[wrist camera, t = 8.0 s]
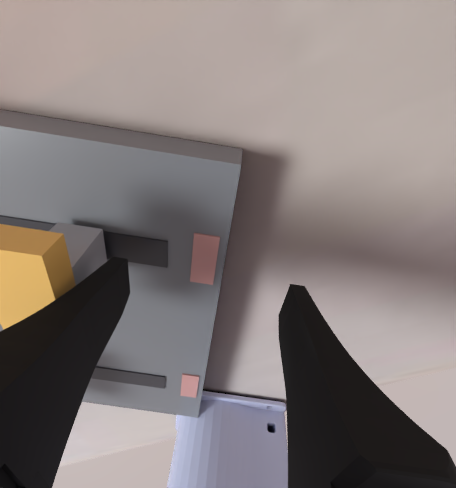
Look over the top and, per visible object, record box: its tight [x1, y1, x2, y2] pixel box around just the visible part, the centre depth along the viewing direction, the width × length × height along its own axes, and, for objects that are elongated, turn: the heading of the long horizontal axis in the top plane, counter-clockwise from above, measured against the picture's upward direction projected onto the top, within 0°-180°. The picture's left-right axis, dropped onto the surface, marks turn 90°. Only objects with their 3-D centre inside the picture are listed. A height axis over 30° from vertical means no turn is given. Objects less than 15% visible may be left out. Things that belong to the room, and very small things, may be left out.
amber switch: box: [0, 222, 107, 330], centre depth 12 cm, size 2×6×4 cm, turn 172°
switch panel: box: [0, 109, 243, 418], centre depth 18 cm, size 16×22×2 cm
